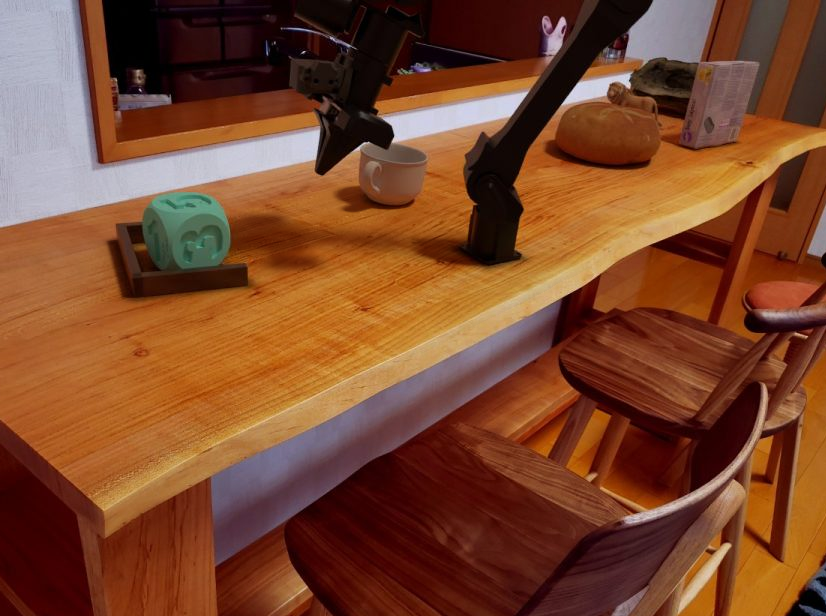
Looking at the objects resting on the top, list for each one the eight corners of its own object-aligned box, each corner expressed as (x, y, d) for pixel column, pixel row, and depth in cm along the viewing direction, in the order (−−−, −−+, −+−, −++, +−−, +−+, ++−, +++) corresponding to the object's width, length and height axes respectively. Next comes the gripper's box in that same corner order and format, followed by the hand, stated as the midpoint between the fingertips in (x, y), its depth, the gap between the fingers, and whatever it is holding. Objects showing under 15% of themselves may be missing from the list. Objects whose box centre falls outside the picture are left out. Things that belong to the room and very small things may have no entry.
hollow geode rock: (721, 143, 192) (755, 97, 192) (714, 111, 182) (750, 62, 183) (629, 115, 210) (661, 73, 210) (618, 85, 200) (651, 40, 200)
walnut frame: (217, 233, 104) (216, 216, 103) (248, 285, 90) (247, 266, 89) (117, 241, 99) (115, 223, 98) (134, 297, 85) (131, 277, 84)
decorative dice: (144, 258, 95) (138, 197, 91) (202, 246, 99) (199, 187, 95) (173, 281, 90) (167, 217, 86) (232, 267, 94) (230, 206, 90)
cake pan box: (721, 136, 178) (744, 57, 169) (740, 141, 175) (765, 61, 166) (675, 145, 168) (697, 61, 158) (694, 150, 164) (718, 65, 155)
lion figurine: (598, 120, 184) (607, 81, 180) (604, 116, 188) (612, 78, 184) (659, 130, 179) (669, 91, 174) (663, 126, 183) (673, 88, 178)
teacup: (385, 184, 128) (389, 137, 124) (437, 201, 122) (442, 152, 118) (330, 201, 118) (331, 151, 114) (383, 220, 113) (386, 168, 109)
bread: (686, 168, 151) (701, 117, 146) (590, 173, 143) (601, 120, 138) (617, 138, 169) (628, 92, 164) (528, 141, 161) (536, 93, 156)
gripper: (292, 14, 94) (245, 130, 100) (338, 41, 80) (280, 175, 85) (366, 53, 100) (318, 160, 106) (421, 84, 86) (362, 207, 91)
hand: (318, 173), depth 97 cm, fingers closed
